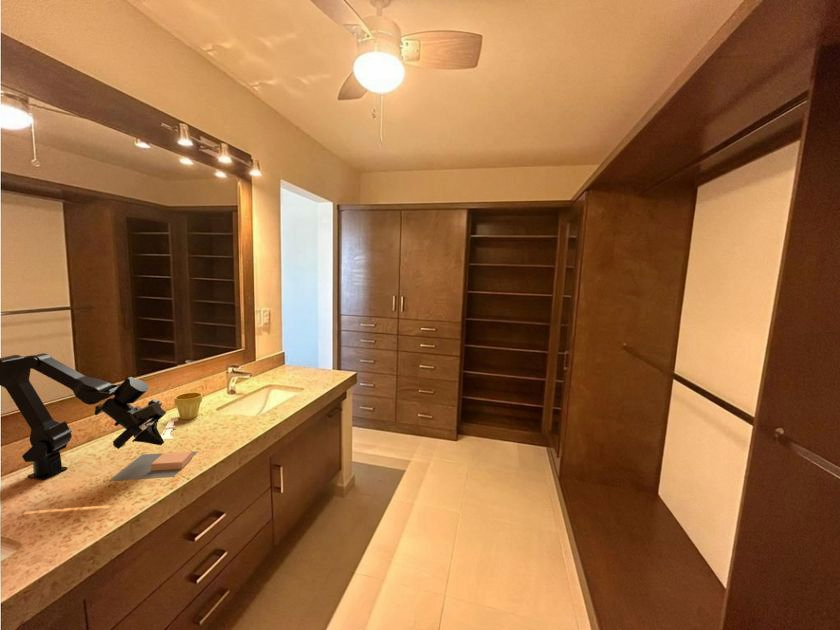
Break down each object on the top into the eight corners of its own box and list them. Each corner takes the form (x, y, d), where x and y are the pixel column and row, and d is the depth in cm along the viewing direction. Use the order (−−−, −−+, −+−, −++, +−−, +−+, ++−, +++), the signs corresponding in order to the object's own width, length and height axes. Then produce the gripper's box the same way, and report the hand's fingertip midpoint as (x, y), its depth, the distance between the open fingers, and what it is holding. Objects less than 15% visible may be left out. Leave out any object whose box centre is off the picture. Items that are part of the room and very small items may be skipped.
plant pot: (207, 412, 159) (206, 392, 158) (193, 421, 149) (192, 399, 148) (185, 412, 159) (184, 391, 158) (169, 421, 148) (168, 399, 147)
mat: (108, 482, 103) (108, 480, 103) (141, 456, 119) (141, 454, 119) (174, 478, 107) (173, 476, 107) (198, 453, 122) (198, 451, 122)
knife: (176, 448, 124) (149, 451, 121) (176, 452, 125) (150, 456, 121) (191, 415, 151) (170, 417, 148) (191, 418, 152) (170, 421, 148)
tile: (151, 463, 109) (182, 462, 111) (163, 453, 116) (192, 451, 118) (151, 470, 109) (182, 468, 111) (163, 459, 116) (192, 457, 118)
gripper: (122, 405, 101) (165, 439, 104) (159, 386, 119) (194, 415, 122) (93, 432, 100) (137, 465, 103) (134, 408, 118) (171, 437, 121)
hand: (162, 443), depth 112 cm, fingers closed
